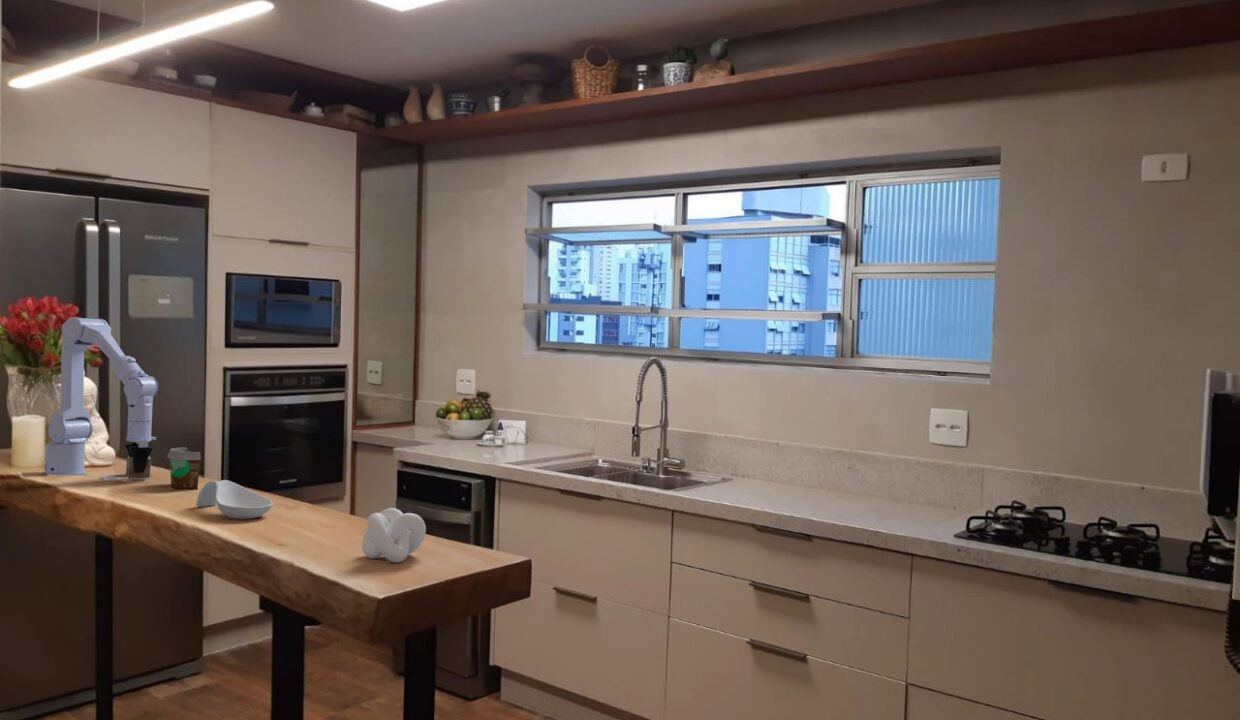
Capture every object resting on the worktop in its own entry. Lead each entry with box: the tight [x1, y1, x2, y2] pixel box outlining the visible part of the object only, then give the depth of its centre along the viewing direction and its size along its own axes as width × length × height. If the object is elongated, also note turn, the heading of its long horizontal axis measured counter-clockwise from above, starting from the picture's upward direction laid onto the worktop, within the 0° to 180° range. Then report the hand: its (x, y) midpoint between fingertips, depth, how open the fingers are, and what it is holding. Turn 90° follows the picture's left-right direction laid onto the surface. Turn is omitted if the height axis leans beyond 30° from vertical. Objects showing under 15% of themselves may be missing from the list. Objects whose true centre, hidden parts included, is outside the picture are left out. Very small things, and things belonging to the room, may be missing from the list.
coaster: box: [122, 478, 153, 484], centre depth 244 cm, size 7×7×1 cm
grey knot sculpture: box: [361, 507, 427, 564], centre depth 172 cm, size 11×12×9 cm
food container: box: [167, 446, 202, 491], centre depth 239 cm, size 12×6×10 cm, turn 42°
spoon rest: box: [195, 479, 274, 520], centre depth 207 cm, size 24×12×7 cm, turn 52°
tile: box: [99, 476, 127, 482], centre depth 246 cm, size 6×6×1 cm
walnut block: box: [125, 456, 151, 479], centre depth 244 cm, size 5×5×5 cm
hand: (137, 471), depth 244 cm, fingers closed on walnut block, 5 cm apart
